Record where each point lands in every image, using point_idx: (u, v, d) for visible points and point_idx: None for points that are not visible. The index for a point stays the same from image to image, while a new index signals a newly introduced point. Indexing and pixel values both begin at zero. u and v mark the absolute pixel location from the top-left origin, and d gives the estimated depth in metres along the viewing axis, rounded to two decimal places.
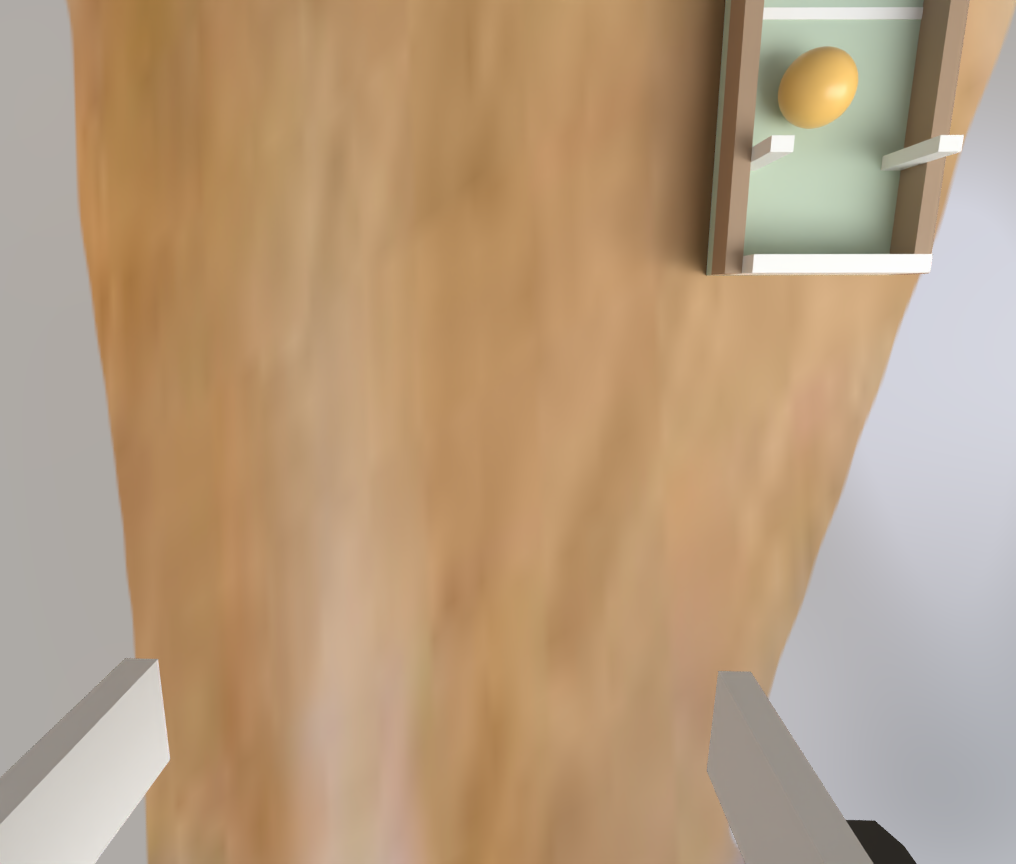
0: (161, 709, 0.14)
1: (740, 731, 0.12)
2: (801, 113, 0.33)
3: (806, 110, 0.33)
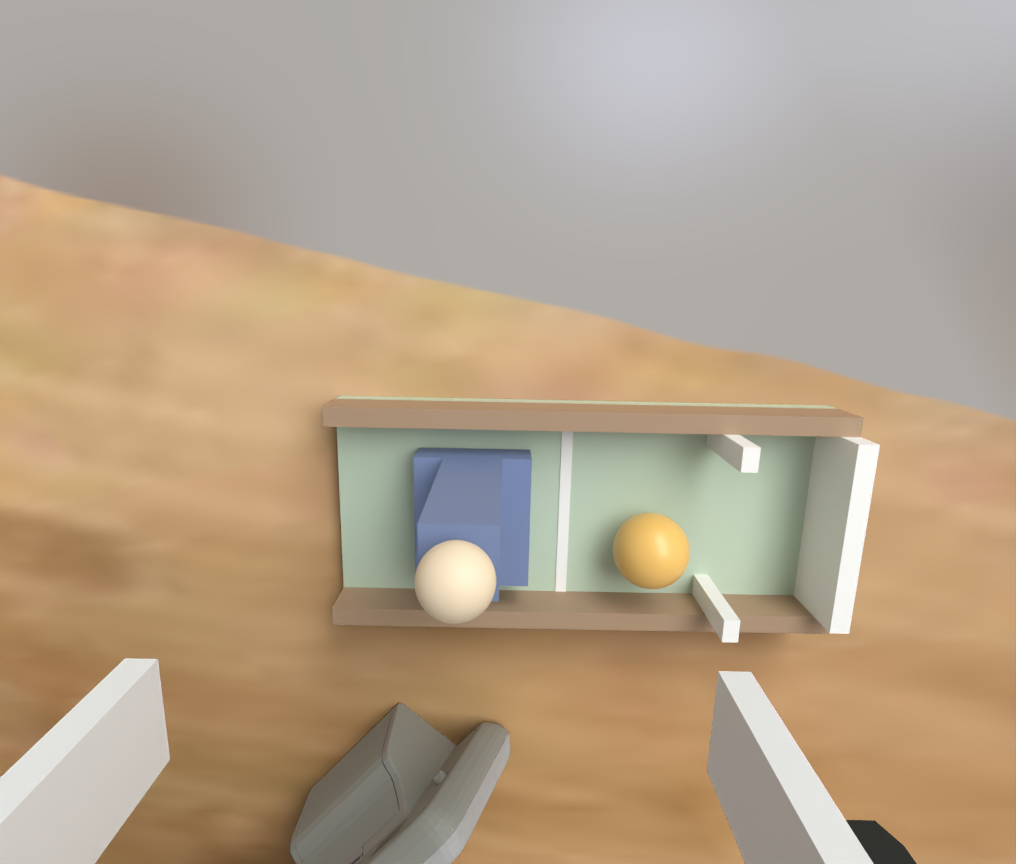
0: (161, 709, 0.14)
1: (740, 731, 0.12)
2: None
3: None
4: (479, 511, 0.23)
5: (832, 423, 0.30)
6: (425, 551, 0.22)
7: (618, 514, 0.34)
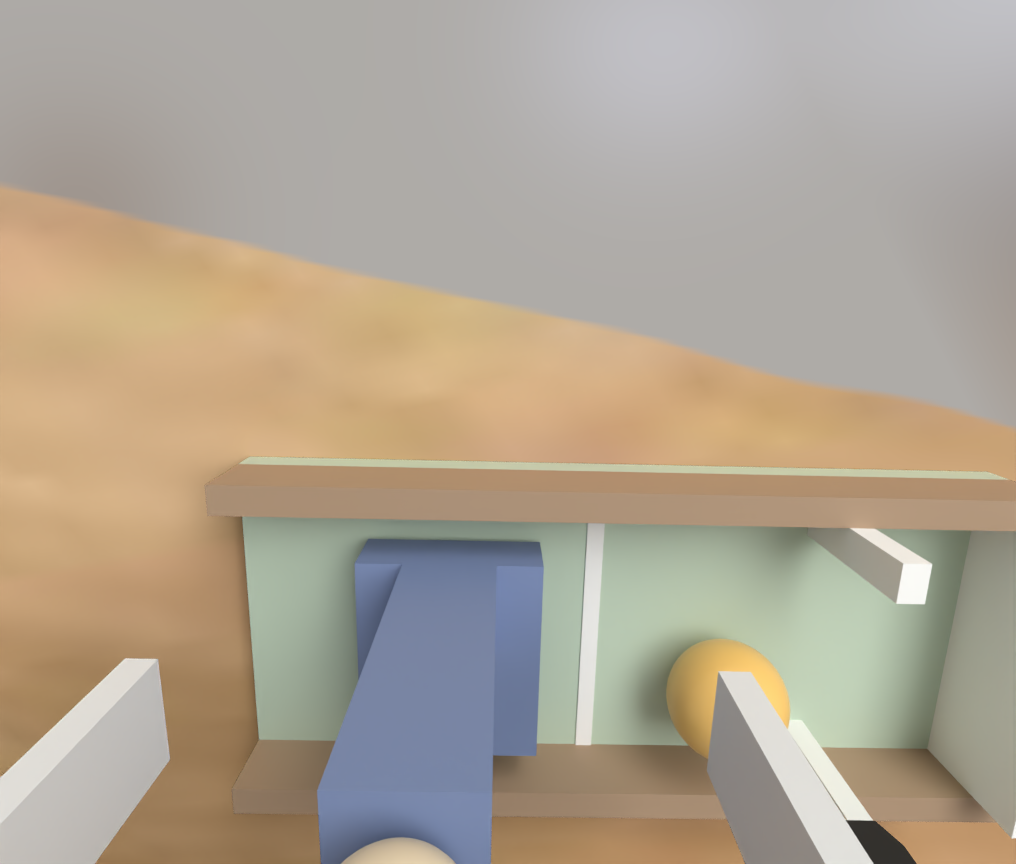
0: (162, 709, 0.14)
1: (741, 731, 0.12)
2: None
3: None
4: (450, 735, 0.12)
5: None
6: (336, 841, 0.11)
7: (671, 634, 0.22)
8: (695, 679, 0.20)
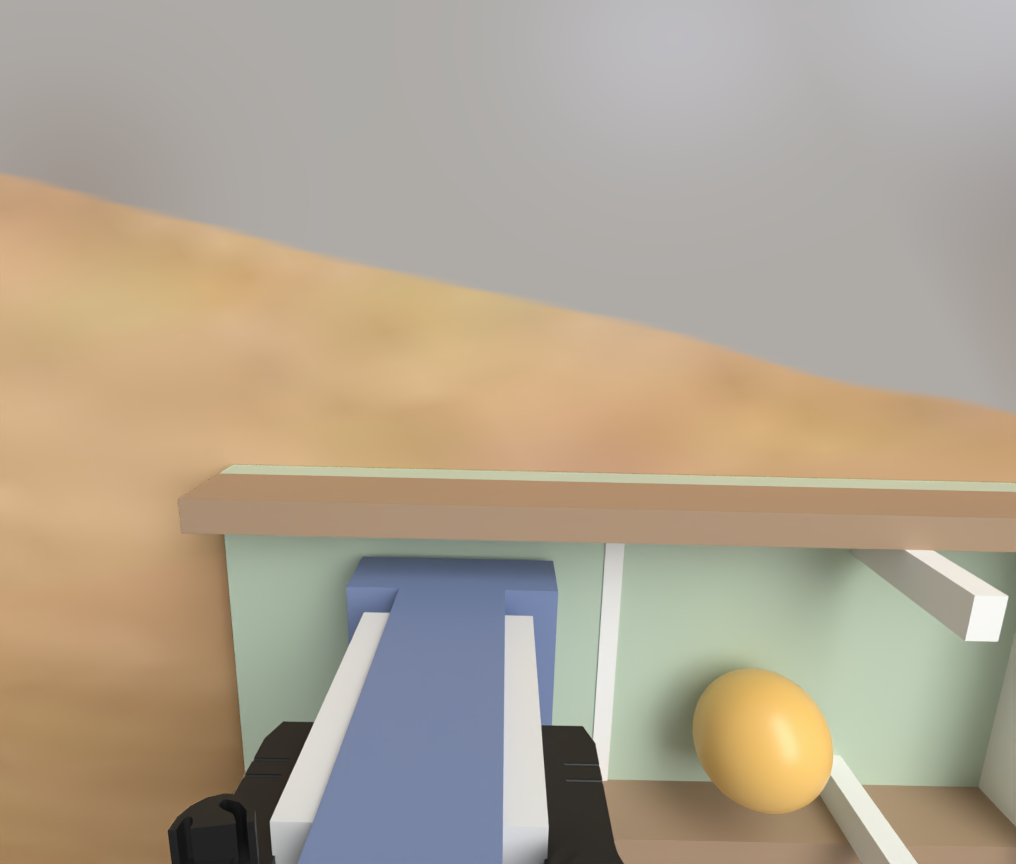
0: None
1: None
2: None
3: None
4: (451, 818, 0.10)
5: None
6: None
7: (697, 662, 0.20)
8: (727, 716, 0.18)
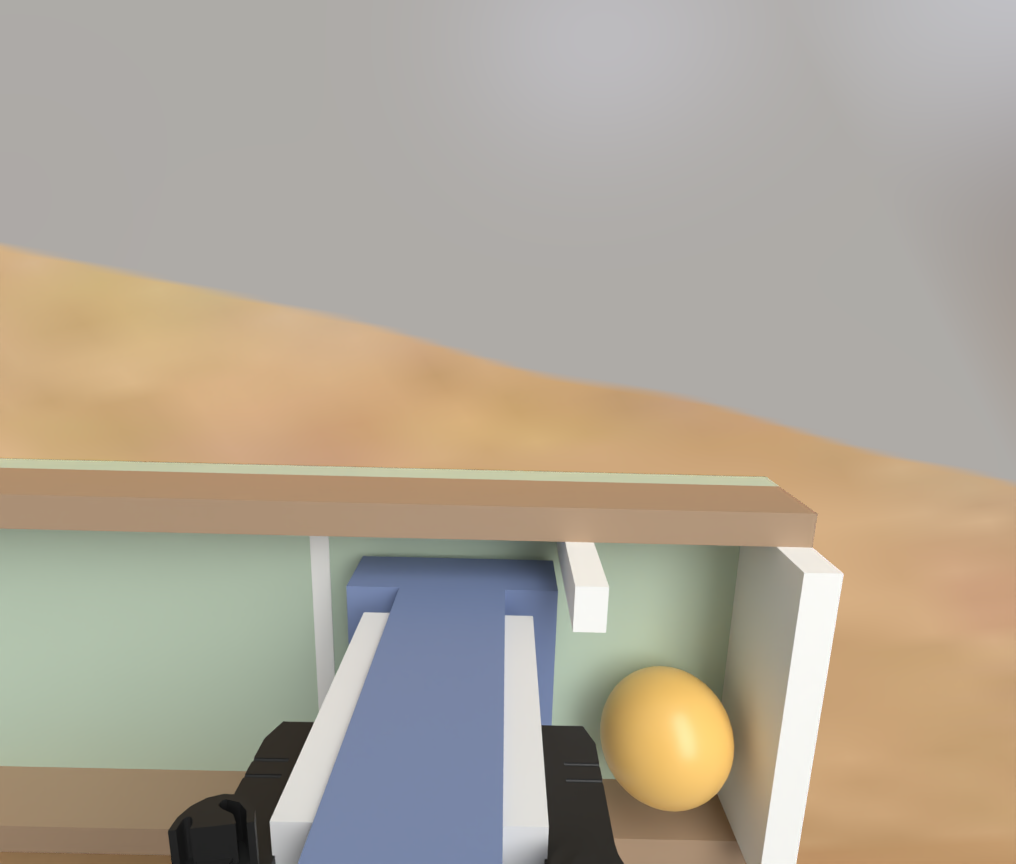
0: None
1: None
2: None
3: None
4: (451, 817, 0.10)
5: (761, 523, 0.17)
6: None
7: None
8: None
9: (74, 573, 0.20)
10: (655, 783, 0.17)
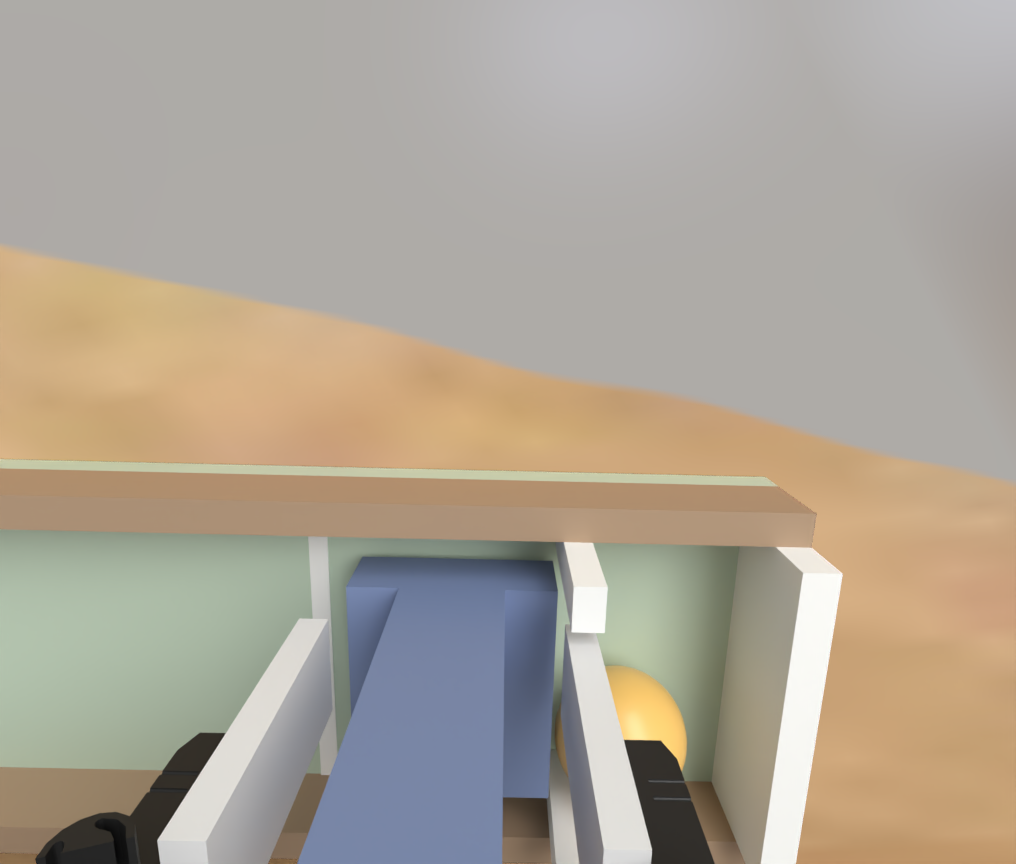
0: (328, 664, 0.16)
1: (570, 672, 0.14)
2: None
3: None
4: (450, 818, 0.10)
5: (760, 523, 0.17)
6: None
7: None
8: (673, 715, 0.18)
9: (72, 574, 0.20)
10: (565, 758, 0.18)
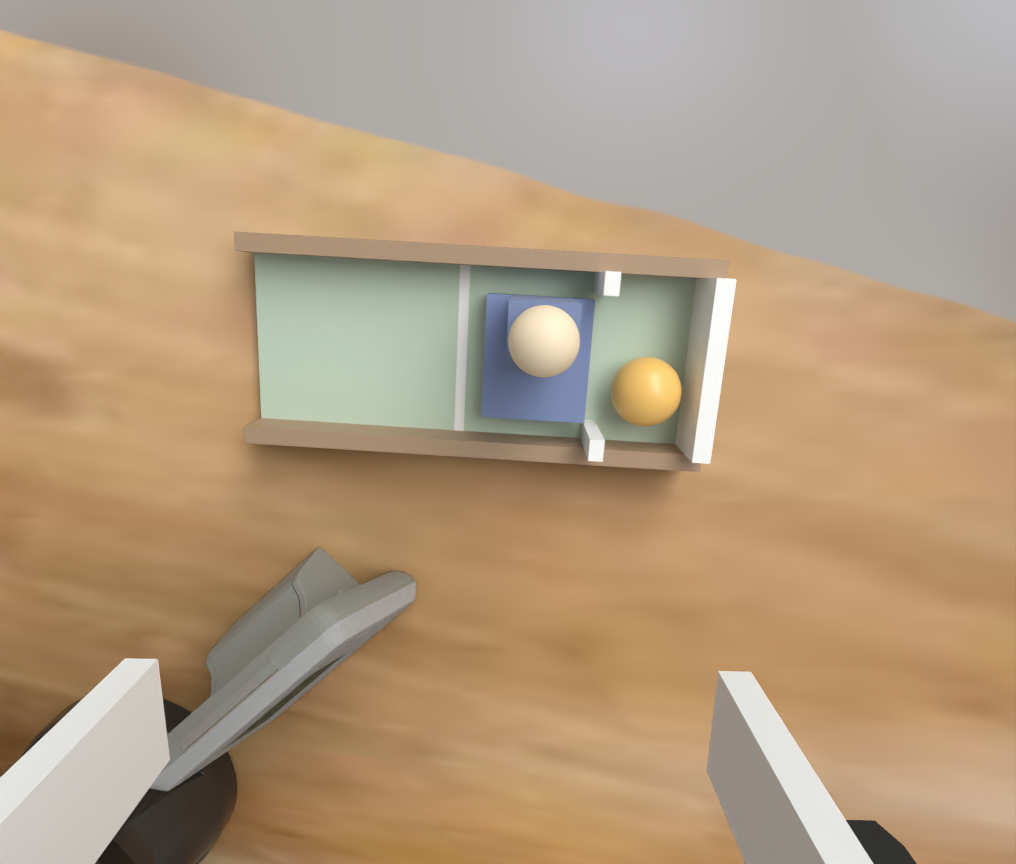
0: (162, 709, 0.14)
1: (740, 731, 0.12)
2: None
3: None
4: (560, 301, 0.26)
5: (700, 264, 0.33)
6: None
7: None
8: None
9: (329, 301, 0.36)
10: (636, 397, 0.33)
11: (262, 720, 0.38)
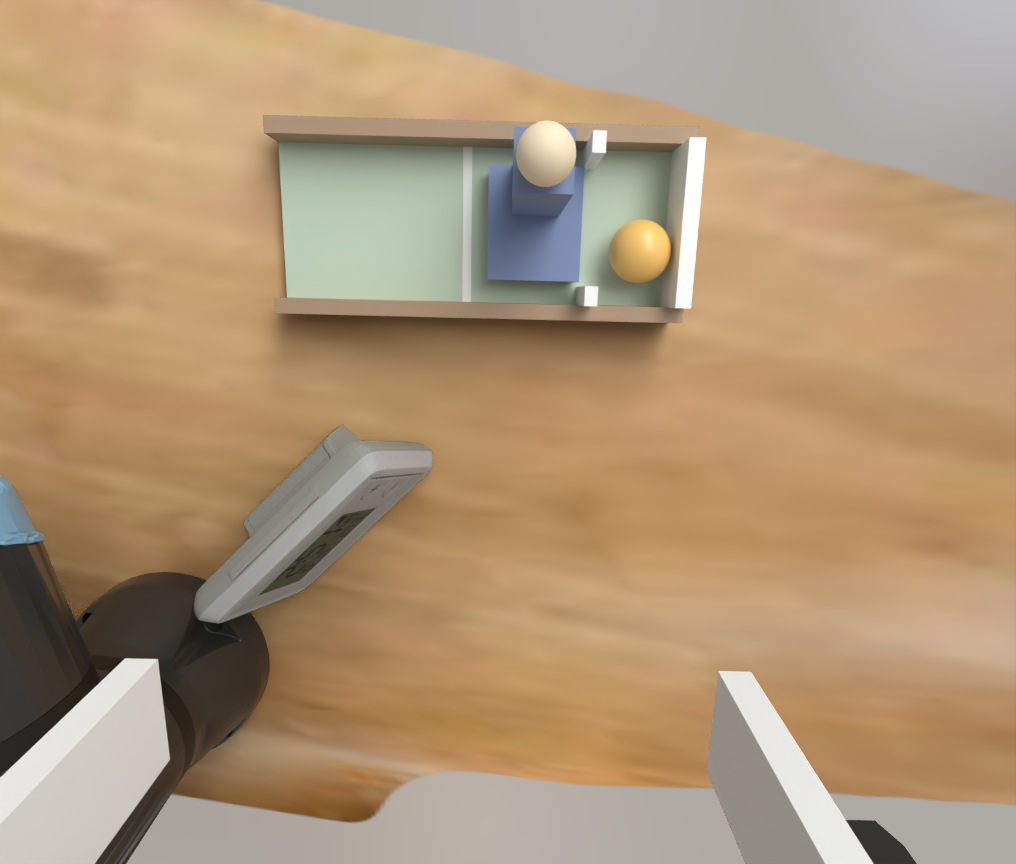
0: (162, 709, 0.14)
1: (740, 731, 0.12)
2: None
3: None
4: None
5: (674, 131, 0.37)
6: None
7: None
8: None
9: (347, 184, 0.40)
10: (640, 250, 0.37)
11: (297, 573, 0.42)
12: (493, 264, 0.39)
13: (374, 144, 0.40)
